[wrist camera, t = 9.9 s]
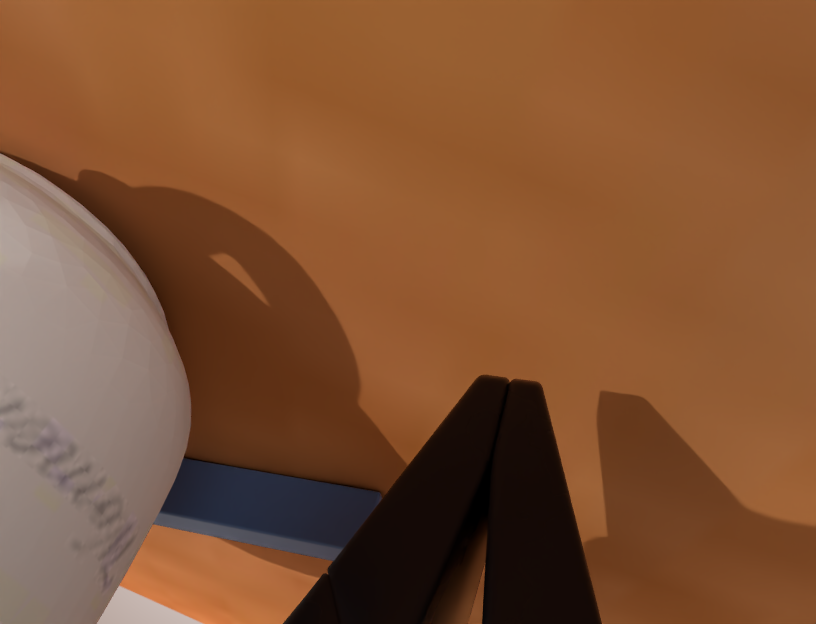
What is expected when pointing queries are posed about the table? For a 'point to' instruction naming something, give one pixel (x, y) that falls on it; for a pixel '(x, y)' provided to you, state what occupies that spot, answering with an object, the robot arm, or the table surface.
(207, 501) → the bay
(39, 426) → the teacup
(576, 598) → the robot arm
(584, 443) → the table surface
